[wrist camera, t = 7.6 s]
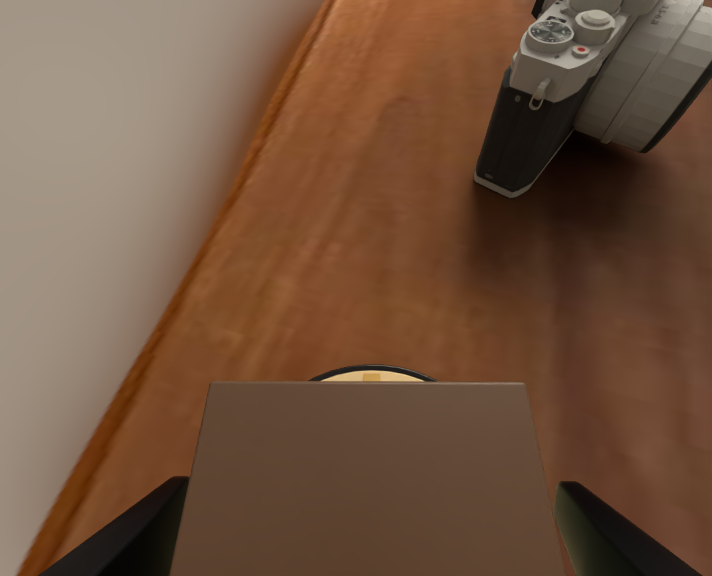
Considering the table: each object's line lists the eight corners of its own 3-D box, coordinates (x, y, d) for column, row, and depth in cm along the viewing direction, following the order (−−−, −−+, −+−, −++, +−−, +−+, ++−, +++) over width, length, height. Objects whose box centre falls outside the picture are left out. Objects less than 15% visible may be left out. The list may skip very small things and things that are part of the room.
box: (570, 763, 10) (1137, 1612, 2) (189, 737, 11) (-259, 1342, 3) (501, 373, 15) (617, 270, 8) (248, 372, 16) (131, 277, 8)
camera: (586, 248, 19) (766, 46, 10) (441, 176, 22) (482, -26, 13) (679, 96, 24) (850, -124, 15) (551, 55, 27) (633, -148, 18)
